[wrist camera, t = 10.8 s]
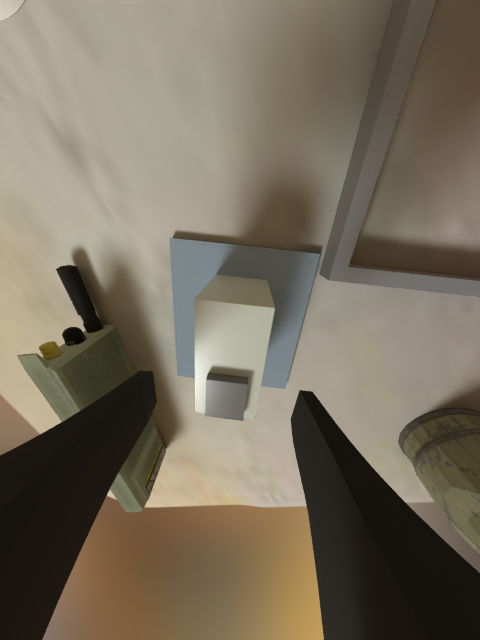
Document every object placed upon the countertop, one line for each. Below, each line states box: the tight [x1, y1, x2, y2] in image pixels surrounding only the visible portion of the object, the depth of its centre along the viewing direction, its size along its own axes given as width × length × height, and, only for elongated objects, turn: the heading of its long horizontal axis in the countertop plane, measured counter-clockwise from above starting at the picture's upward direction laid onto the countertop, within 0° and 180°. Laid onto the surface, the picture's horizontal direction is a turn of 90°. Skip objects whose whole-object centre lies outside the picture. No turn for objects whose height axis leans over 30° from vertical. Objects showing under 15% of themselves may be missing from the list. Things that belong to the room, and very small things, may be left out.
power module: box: [194, 274, 275, 421], centre depth 13 cm, size 4×8×7 cm, turn 175°
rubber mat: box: [170, 238, 320, 389], centre depth 17 cm, size 11×13×1 cm
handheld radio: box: [18, 265, 166, 512], centre depth 18 cm, size 7×3×25 cm
